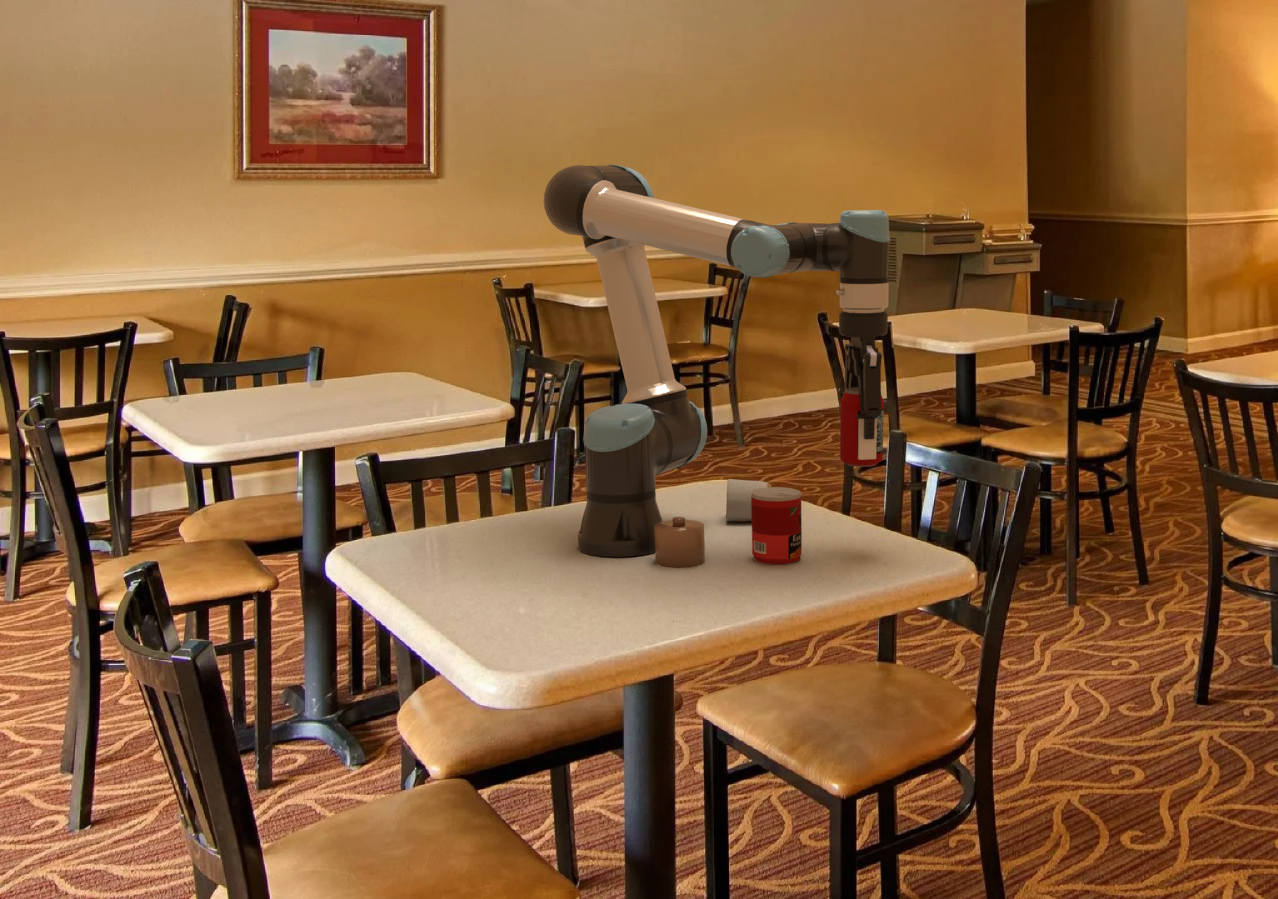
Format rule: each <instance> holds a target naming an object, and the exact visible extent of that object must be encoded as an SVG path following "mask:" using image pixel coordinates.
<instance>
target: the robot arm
mask: <svg viewBox="0 0 1278 899" xmlns="http://www.w3.org/2000/svg"><path fill="white" fill-rule="evenodd" d="M543 206H544V208H543V209H544V210H545V214H546V216H547V218H548V220H549V221H550V223H551V224H552V225H553V226H554V227H555V228H556V229H557V230H559V231H561V232H562V233H564V234H568V235H572V236H573V235H574V236H581V237H582V241H583V245H584V249H585V251H586V252H587V253H589V254H590V255H591V256H594V258H595V259H596V262H597V267H598V270H599V274H600V279H601V284H602V287H603V292H604V296H605V300H606V305H607V309H608V313H609V317H610V322H611V325H612V326H611V327H612V329H613V333H614V335H613V336H614V338H615V342H616V343H615V344H616V347H617V348H616V349H617V351H618V356H619V360H620V365H621V368H622V372H623V376H624V380H625V385H626V389H627V390H626V391H627V392H626V394H625V396H624V398H623V400H622V401H621V403H618V404H615V405H608V406H607V405H606V406H603V407H601V408H598V409H596V410H593V411H592V412H590V413H589V414H588V415H587V416H586V418H585V420H584V428H583V430H584V431H583V438H582V441H583V444H584V466H585V486H586V487H585V491H586V505H585V508H584V512H583V515H582V519H581V525H580V529H579V530H578V533H577V548H578V549H579V551H580V552H583V553H585V554H588V555H593V556H600V557H608V558H609V557H611V558H612V557H614V558H616V557H618V558H619V557H622V558H623V557H636V556H642V555H643V556H645V555H648V554H653V553H655V535H654V525H655V524H657V523H659V522H663V519H662V518H663V517H662V515H661V512H660V509H659V506H658V503H657V498H656V497H657V496H656V476H657V475H659V474H663V473H665V472H668V471H672V470H677V469H681V468H683V467H684V466H686V465H687V464H690V463H691V462H692V461H695V459H697V457H699V455H700V454H701V453H702V451H703V450H704V448H705V445H706V442H707V438H708V425H707V421H706V418H705V414H704V413H703V411H702V410H701V409H700V408H699V407H697V406H696V405H695V403H693V402H692V401H690V400H689V395H688V391H687V388H686V386H684V385H683V384H681V383H680V382H678V381H677V380H676V378H675V374H674V370H673V366H672V361H671V355H670V351H669V347H668V344H667V340H666V335H665V331H664V326H663V322H662V318H661V314H660V309H659V306H658V305H659V304H658V300H657V297H656V292H655V289H654V288H655V287H654V284H653V280H652V275H651V270H650V266H649V262H648V258H647V254H646V249H645V247H646V246H648V247H652V248H656V249H659V250H663V251H666V252H667V251H668V252H672V253H676V254H680V255H682V256H688V257H691V258H695V259H700V260H703V261H707V262H712V263H716V264H720V265H724V266H729V267H731V268H736V269H738V271H739V272H740V273H742V274H743V275H745V276H748V277H752V278H753V277H755V278H761V279H762V278H770V277H772V276H777V275H778V276H779V275H784V274H785V275H786V274H793V273H800V272H801V273H802V272H839V288H838V289H836V291H835V293H836V295H837V296H839V308H841V309H843V310H842V311H840V313H839V314H838V333H839V334H840V335H841V336H842V337H843V336H844V337H849V338H850V343H846V344H845V345H844V350H845V351H844V352H845V364H844V365H845V366H844V367H845V368H844V369H845V370H844V392H843V394H844V393H845V389H847V388H852V387H859V397H860V412H861V414H858V415H857V416H856V418H857V419H859V424H858V459H859V460H864V459H876V436H877V418H878V416H881V396H882V383H881V382H882V378H881V377H882V376H881V375H882V372H881V371H882V370H881V366H882V359H883V355H882V352H879V349H878V347H877V346H876V341H875V340H876V338H877V337H883V336H886V335H887V334H888V324H889V323H888V322H889V321H888V320H889V319H888V317H889V314H888V313H887V311H886V310H885V309H887V308H888V307H889V295H890V294H889V293H890V292H889V287H890V286H889V265H890V264H889V263H890V262H889V261H890V243H891V237H890V225H889V224H890V221H889V215H888V213H887V212H886V211H885V210H882V209H864V210H863V209H860V210H859V209H857V210H856V209H854V210H852V209H851V210H849V209H848V210H843V211H842V212H841V213H840V218H839V222H831V223H819V222H795V221H793V222H785V223H778V224H767V223H763V222H758V221H755V220H754V221H753V220H748V219H745V218H741V217H737V216H734V215H733V216H732V215H728V214H725V213H724V214H723V213H719V212H715V211H710V210H707V209H702V208H698V207H693V206H690V205H685V204H681V203H676V202H672V201H668V200H664V199H663V200H662V199H659V198H656V197H654V193H653V190H652V188H651V185H650V184H649V182H648V180H647V179H646V178H645V177H644V176H643V175H642V174H641V173H640V172H639V171H637V170H635V169H633V168H630V167H627V166H623V165H618V164H609V165H583V164H582V165H581V164H579V165H578V164H577V165H569V166H567V167H564V168H562V169H560V170H558V171H557V172H556V173H555V174H553V176H552V177H551V178H550V180H549V181H548V182H547V185H546V186H545V189H544V193H543ZM869 408H872V409H869Z"/></svg>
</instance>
